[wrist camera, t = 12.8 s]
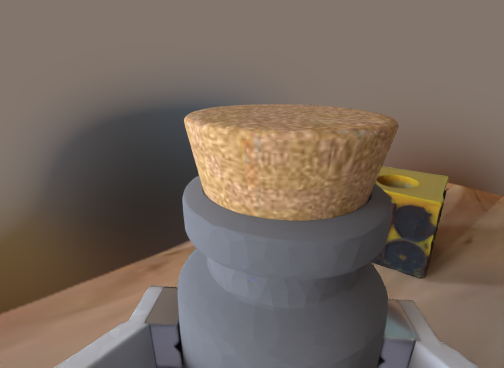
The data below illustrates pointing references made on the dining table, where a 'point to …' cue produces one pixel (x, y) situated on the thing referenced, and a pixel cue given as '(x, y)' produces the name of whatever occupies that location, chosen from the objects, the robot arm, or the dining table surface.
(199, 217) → the bottle
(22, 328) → the dining table surface
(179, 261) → the dining table surface
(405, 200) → the candle
